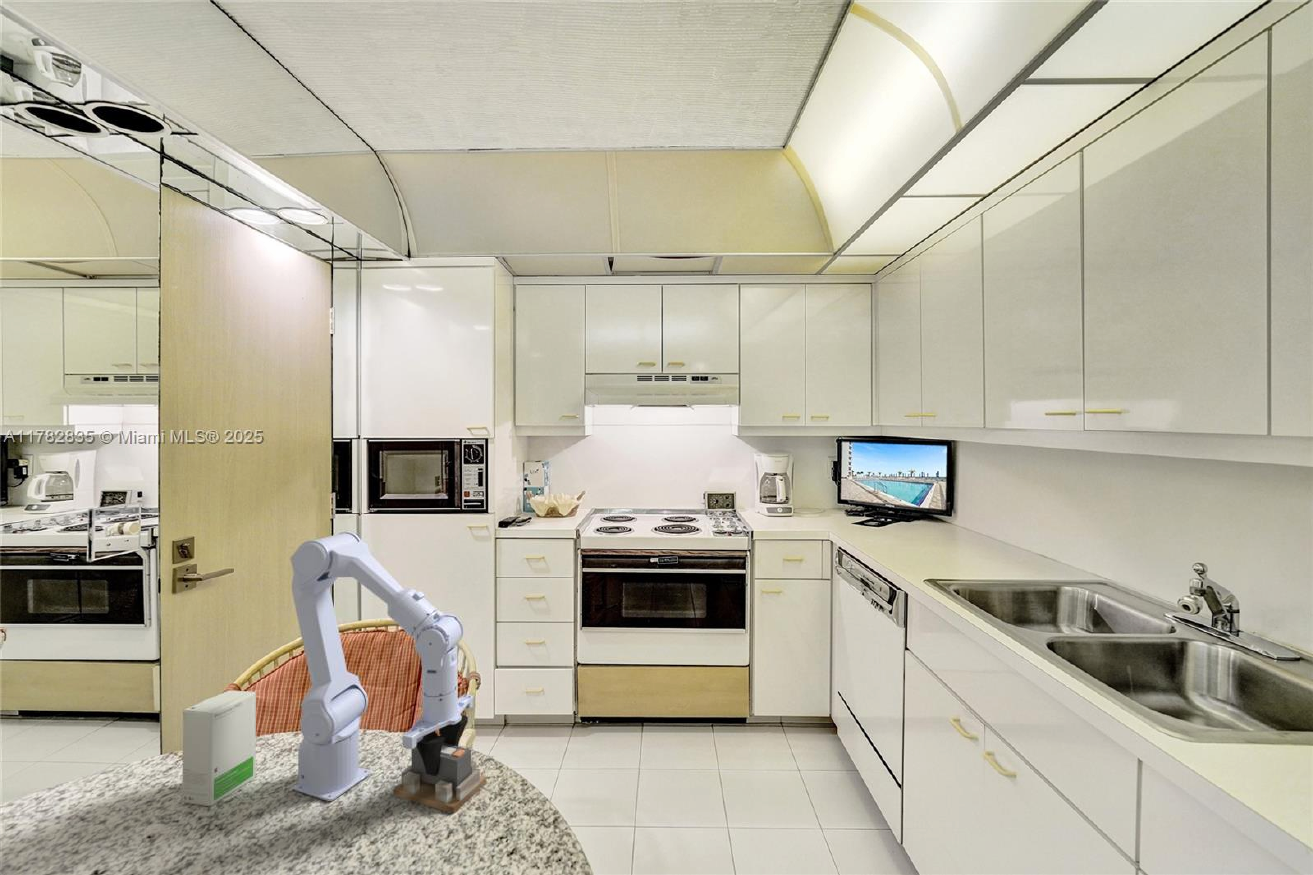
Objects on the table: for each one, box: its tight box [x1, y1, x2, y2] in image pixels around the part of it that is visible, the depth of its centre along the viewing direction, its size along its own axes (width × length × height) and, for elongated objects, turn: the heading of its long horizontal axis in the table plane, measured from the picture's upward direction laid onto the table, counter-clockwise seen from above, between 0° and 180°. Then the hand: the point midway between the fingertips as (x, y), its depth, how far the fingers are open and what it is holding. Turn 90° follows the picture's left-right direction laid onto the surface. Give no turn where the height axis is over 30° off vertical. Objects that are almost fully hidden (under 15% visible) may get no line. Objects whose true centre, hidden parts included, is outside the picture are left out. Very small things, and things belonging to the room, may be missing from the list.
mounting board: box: [393, 760, 487, 814], centre depth 89 cm, size 13×8×4 cm, turn 70°
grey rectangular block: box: [410, 743, 472, 790], centre depth 89 cm, size 10×3×5 cm, turn 70°
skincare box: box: [181, 690, 257, 807], centre depth 90 cm, size 8×7×16 cm
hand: (440, 767), depth 89 cm, fingers closed on grey rectangular block, 3 cm apart
